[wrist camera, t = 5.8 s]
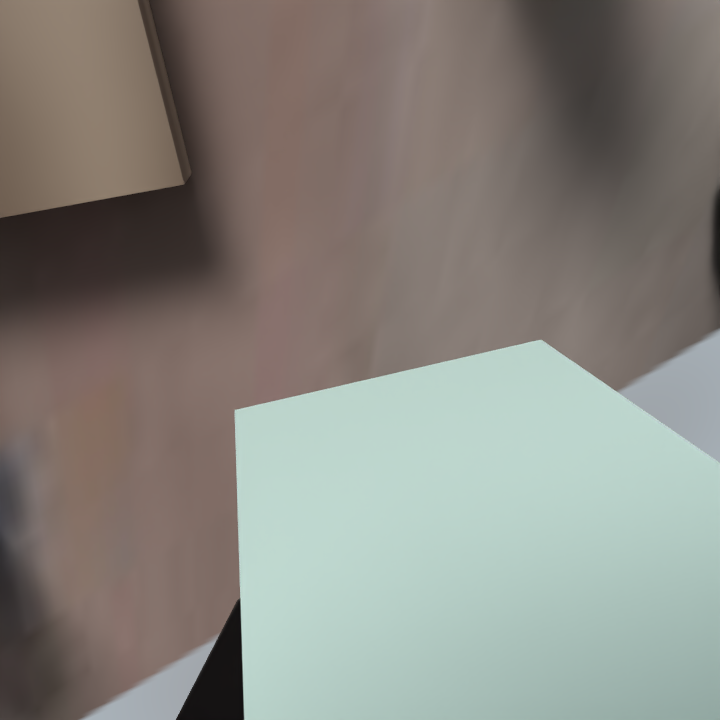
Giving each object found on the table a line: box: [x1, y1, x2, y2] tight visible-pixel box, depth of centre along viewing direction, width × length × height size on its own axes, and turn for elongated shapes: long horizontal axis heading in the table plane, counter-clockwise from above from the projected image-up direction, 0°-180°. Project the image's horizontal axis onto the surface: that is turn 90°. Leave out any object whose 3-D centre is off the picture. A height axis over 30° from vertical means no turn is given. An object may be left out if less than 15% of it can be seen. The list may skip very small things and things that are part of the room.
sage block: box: [235, 340, 720, 720], centre depth 7 cm, size 4×4×6 cm
